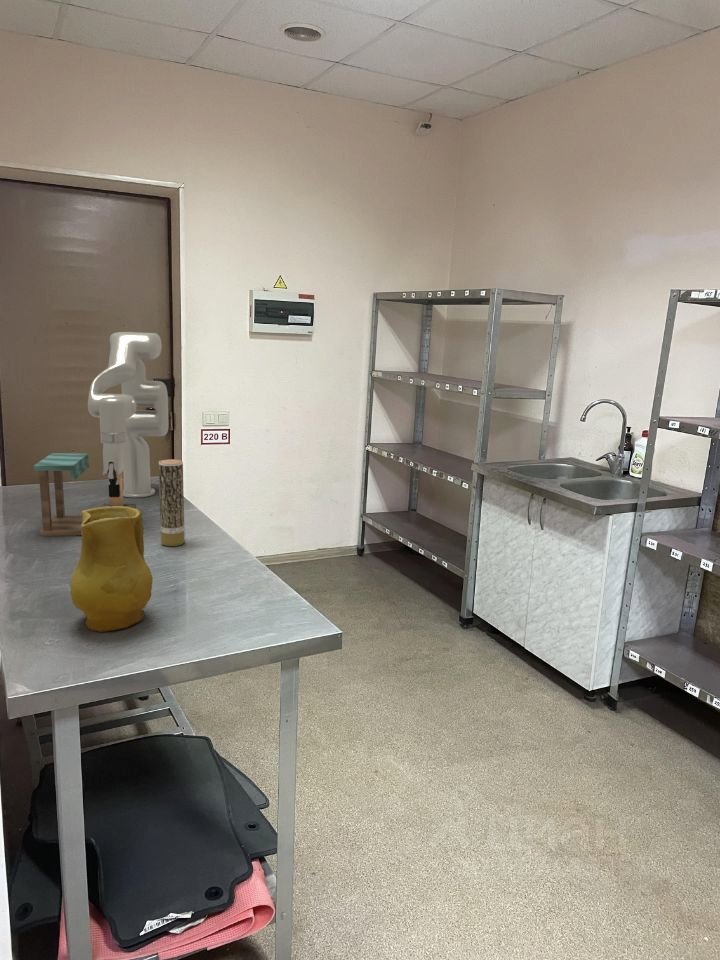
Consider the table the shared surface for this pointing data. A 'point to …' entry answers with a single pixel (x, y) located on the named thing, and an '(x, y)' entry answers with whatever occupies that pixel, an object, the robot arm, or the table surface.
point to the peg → (119, 500)
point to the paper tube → (171, 502)
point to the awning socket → (61, 493)
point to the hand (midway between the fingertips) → (116, 494)
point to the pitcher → (111, 569)
